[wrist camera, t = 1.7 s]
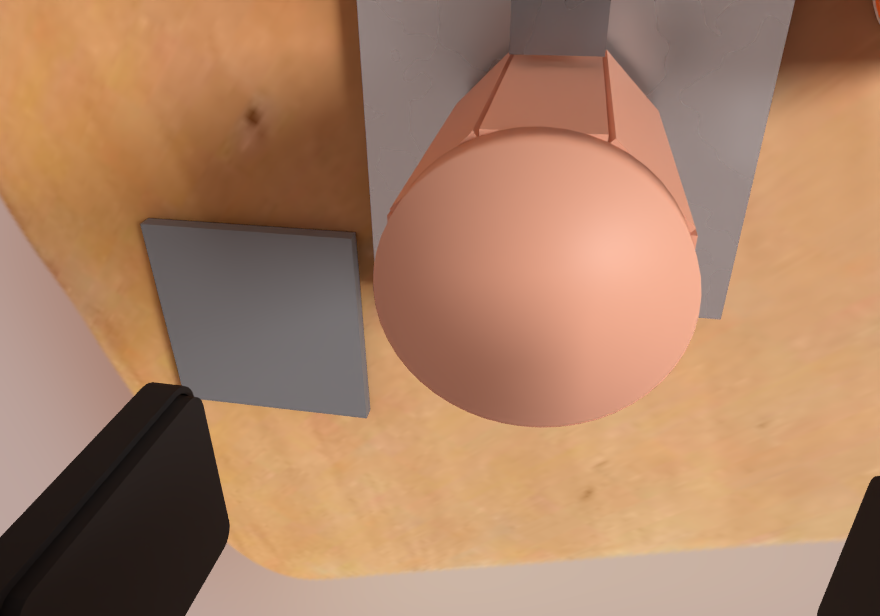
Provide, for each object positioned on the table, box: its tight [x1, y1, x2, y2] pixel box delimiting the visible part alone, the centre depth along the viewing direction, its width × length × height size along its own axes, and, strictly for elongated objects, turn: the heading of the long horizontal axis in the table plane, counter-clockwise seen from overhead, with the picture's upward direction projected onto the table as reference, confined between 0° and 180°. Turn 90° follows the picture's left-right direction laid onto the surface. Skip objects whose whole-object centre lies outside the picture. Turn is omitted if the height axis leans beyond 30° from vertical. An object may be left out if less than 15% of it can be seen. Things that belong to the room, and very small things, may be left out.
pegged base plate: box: [357, 0, 795, 319], centre depth 19 cm, size 13×13×11 cm
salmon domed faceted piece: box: [373, 50, 701, 427], centre depth 18 cm, size 9×6×10 cm
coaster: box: [140, 218, 370, 418], centre depth 30 cm, size 9×9×1 cm
